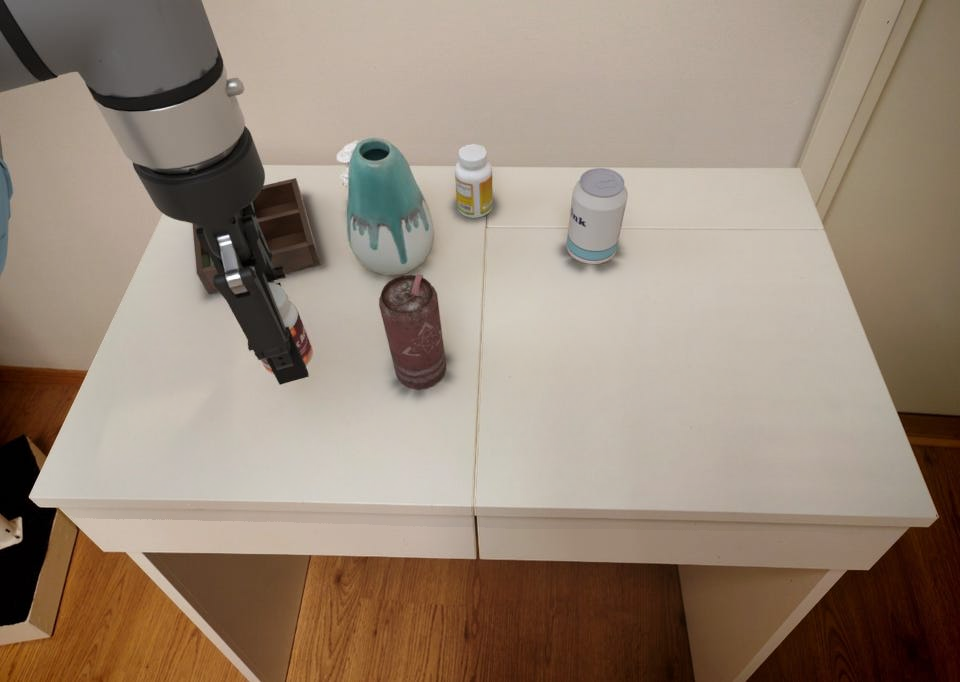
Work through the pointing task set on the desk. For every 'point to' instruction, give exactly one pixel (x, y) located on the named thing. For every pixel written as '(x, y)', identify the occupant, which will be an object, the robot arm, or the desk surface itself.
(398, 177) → the vase
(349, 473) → the desk surface
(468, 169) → the supplement bottle
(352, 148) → the flower shoulder figurine
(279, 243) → the holder
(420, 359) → the red cylinder
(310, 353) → the pill bottle
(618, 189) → the beverage can
